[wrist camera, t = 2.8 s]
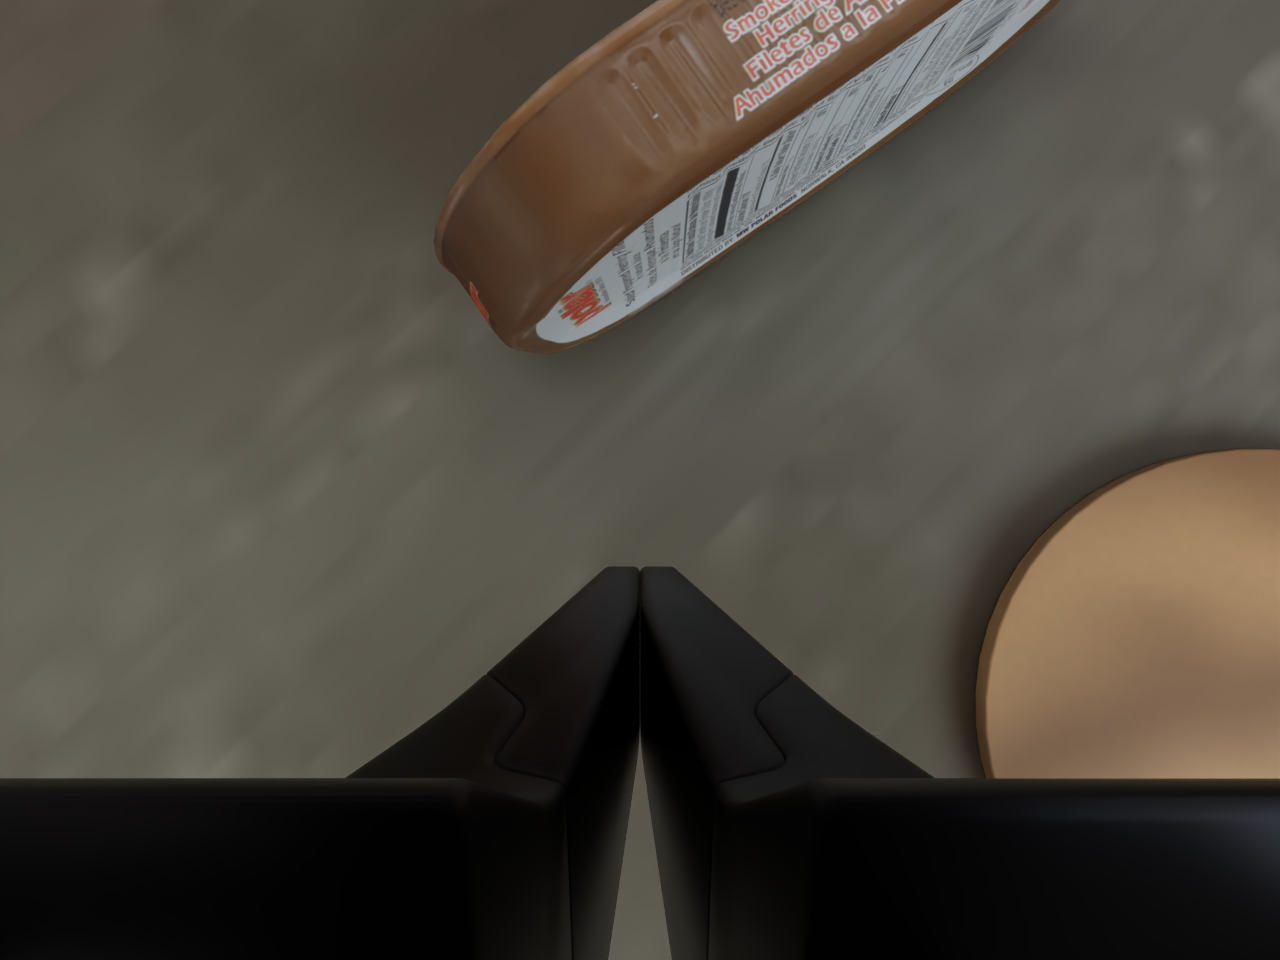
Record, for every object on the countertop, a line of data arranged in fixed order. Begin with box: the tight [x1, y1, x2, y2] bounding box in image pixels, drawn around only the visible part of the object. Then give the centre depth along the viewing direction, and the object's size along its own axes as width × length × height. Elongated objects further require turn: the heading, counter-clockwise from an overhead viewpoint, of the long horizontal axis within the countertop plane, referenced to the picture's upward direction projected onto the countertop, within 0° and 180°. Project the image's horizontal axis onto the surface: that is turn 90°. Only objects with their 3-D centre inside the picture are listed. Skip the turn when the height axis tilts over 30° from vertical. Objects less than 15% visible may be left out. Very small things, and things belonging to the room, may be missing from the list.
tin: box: [434, 0, 1060, 354], centre depth 18 cm, size 15×3×8 cm, turn 124°
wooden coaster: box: [976, 449, 1280, 778], centre depth 20 cm, size 12×12×1 cm
